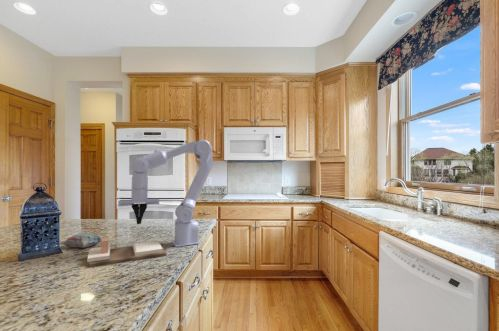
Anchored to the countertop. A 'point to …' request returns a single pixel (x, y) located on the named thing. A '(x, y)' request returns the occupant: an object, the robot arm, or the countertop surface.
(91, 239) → the packaged food
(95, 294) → the countertop surface
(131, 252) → the board
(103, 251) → the stub
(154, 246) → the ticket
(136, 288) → the countertop surface
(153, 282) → the countertop surface
